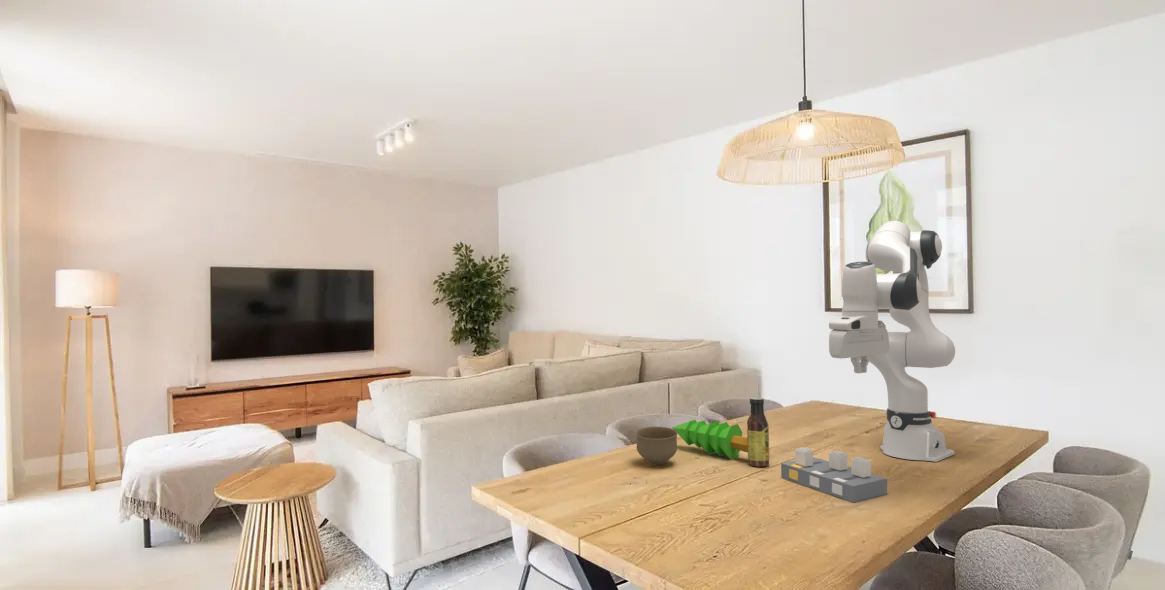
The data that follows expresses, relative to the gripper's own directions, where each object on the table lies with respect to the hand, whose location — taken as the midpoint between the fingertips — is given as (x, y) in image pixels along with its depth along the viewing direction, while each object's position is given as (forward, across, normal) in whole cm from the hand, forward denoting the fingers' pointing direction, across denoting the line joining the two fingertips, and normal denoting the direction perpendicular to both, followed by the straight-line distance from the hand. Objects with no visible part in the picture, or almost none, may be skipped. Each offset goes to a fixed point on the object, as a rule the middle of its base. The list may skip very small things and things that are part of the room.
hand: (860, 372), depth 160 cm
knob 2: (+25, +7, -2) cm, 26 cm away
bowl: (+30, +38, -41) cm, 64 cm away
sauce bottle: (+30, +12, -26) cm, 41 cm away
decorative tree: (+30, +16, -43) cm, 55 cm away
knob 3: (+25, +7, +5) cm, 27 cm away
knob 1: (+25, +12, -9) cm, 29 cm away
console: (+30, +9, -2) cm, 31 cm away
